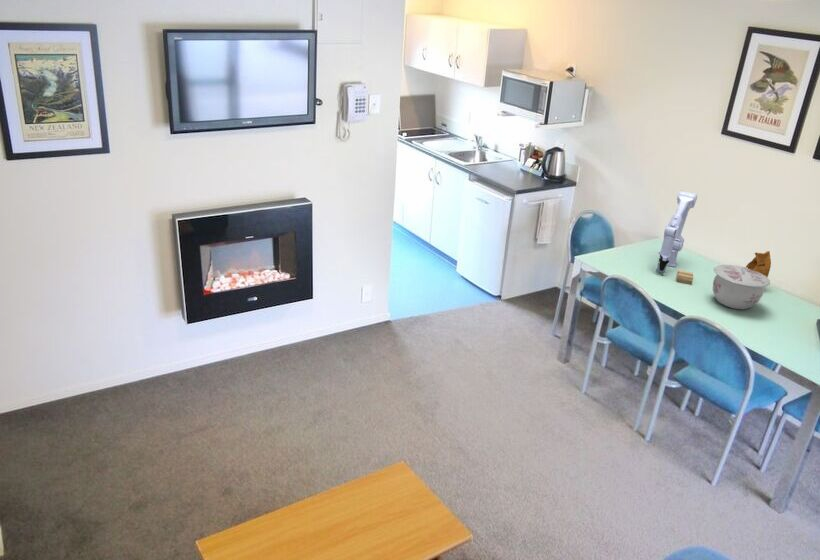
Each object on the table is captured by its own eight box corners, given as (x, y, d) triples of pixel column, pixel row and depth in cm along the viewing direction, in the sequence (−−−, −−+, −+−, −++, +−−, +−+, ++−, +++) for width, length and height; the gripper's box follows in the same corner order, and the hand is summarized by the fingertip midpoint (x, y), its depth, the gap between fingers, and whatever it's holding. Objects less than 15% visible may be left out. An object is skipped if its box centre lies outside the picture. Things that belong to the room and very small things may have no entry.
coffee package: (735, 285, 379) (747, 249, 370) (751, 283, 384) (763, 247, 375) (749, 292, 371) (761, 256, 362) (766, 290, 376) (778, 254, 366)
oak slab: (677, 273, 382) (678, 269, 381) (692, 276, 380) (693, 272, 379) (677, 278, 376) (678, 274, 375) (692, 281, 373) (693, 277, 372)
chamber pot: (728, 317, 340) (740, 280, 331) (694, 293, 364) (704, 258, 355) (773, 314, 348) (785, 278, 339) (737, 291, 371) (748, 257, 363)
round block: (656, 269, 391) (658, 262, 389) (665, 271, 390) (667, 264, 388) (655, 272, 387) (657, 265, 385) (664, 274, 386) (666, 267, 384)
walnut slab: (676, 277, 383) (677, 273, 382) (691, 280, 381) (692, 276, 380) (676, 282, 377) (677, 278, 375) (691, 286, 374) (692, 282, 373)
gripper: (660, 241, 389) (654, 262, 395) (659, 249, 377) (653, 270, 382) (673, 243, 387) (667, 265, 393) (672, 251, 375) (666, 273, 380)
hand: (661, 268), depth 387 cm, fingers open, 7 cm apart
